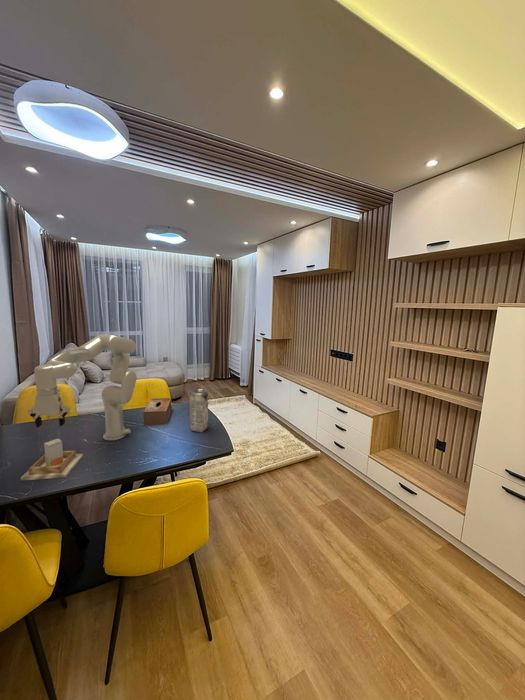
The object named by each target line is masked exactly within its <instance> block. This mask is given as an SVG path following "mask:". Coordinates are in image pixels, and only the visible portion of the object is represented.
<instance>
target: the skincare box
mask: <svg viewBox="0 0 525 700" xmlns="http://www.w3.org/2000/svg"><path fill="white" fill-rule="evenodd" d="M43 446H44V454H45V460H46V466H57V465H59V464H61V463H62V462H63V451H64V450H63V440H61V439H60V438H56V439H52V440H49V441H46V442H44V443H43Z"/></svg>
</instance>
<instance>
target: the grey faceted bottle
mask: <svg viewBox="0 0 525 700" xmlns="http://www.w3.org/2000/svg"><path fill="white" fill-rule="evenodd" d="M208 426H209V392H208V391H205V390H204V389H203V388H198V389H195V390H192V391H191V392H189V430H190V431H192V432H195V433H196V432H197V433H203V432H205V431H206V430H207V429H208Z"/></svg>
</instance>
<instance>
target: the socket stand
mask: <svg viewBox="0 0 525 700" xmlns="http://www.w3.org/2000/svg"><path fill="white" fill-rule="evenodd" d="M83 457H84V454H83V453H77V450H63V462H62V463H61V464H59V465H57V466H46V460H45V453H44V454H43V455H42V456H41V457H40V458H38V459H37V460H36V461H35V462H34V463H33V464H32V465H31V466H30V467H29V468H28V470H27V471H26V472H25V473H24V474H23V475H22V476H20V481H32V480H35V481H36V480H47V479H59V478H66V477H67V476H68V475H69V474H70V473H71V471H72V470H74V468H75V466H77V464H78V463H79V461H80V460H81V459H82V458H83Z"/></svg>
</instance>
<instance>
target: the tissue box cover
mask: <svg viewBox="0 0 525 700" xmlns="http://www.w3.org/2000/svg"><path fill="white" fill-rule="evenodd" d="M172 409H173V408H172V397H158V398H155V397H154V398H150V400H149V402H148V403H147V405H146V407H145V408H144V409H143V414H142V415H143V427H144V426H164V425H167V424H168V422H169V418H170V415H171V413H172V411H173V410H172Z"/></svg>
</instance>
